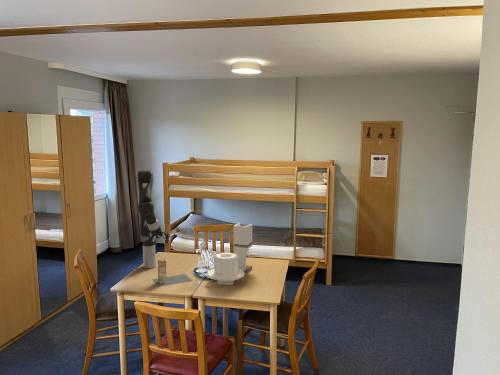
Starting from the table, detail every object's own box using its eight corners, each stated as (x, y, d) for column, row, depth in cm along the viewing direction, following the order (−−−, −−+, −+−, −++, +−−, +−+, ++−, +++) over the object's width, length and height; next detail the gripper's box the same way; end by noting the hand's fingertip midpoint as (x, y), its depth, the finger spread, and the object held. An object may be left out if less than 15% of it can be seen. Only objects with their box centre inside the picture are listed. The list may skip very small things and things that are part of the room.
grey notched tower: (246, 273, 292) (247, 226, 288) (233, 271, 296) (233, 225, 291) (252, 268, 302) (252, 223, 298) (239, 267, 306) (239, 222, 302)
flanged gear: (245, 276, 285) (245, 250, 283) (242, 289, 261) (242, 261, 258) (211, 275, 287) (210, 250, 285) (205, 288, 262) (204, 260, 260)
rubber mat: (152, 280, 277) (152, 279, 277) (184, 274, 289) (184, 273, 288) (158, 287, 263) (158, 286, 263) (192, 281, 275) (192, 280, 275)
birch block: (158, 281, 273) (157, 260, 272) (164, 280, 276) (164, 259, 274) (160, 283, 269) (159, 262, 268) (166, 282, 272) (166, 261, 270)
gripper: (165, 222, 279) (172, 239, 287) (146, 224, 282) (154, 241, 290) (162, 229, 272) (169, 246, 281) (143, 231, 275) (151, 248, 284)
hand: (161, 244), depth 285 cm, fingers open, 8 cm apart
